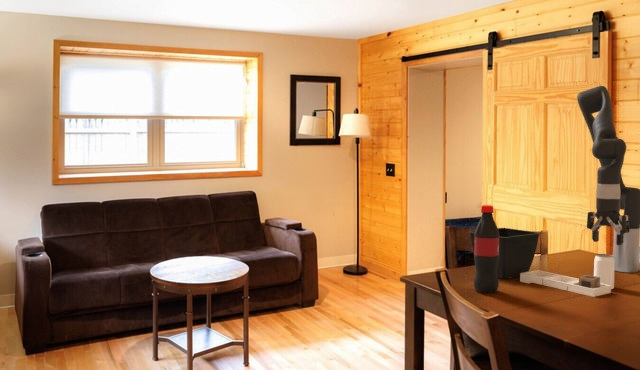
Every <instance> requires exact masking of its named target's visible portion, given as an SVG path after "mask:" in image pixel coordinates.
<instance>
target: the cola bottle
mask: <svg viewBox="0 0 640 370" xmlns="http://www.w3.org/2000/svg"><path fill="white" fill-rule="evenodd" d="M480 213H481V217H480V220H479V221H478V223H477V225H476V228H475V230H474V231H475V233H474V236H475V249H474V252H473V259H474V266H475V275H474V277H473V287H474V290H475V291H477V292H478V293H483V294H493V293H496V292H497V291H498V288H499V285H500V280H499V278H498V276H497V267H498V262H499V236H500V234H499V231H498V228H499V227H498V226H497V223H496V222H495V221H496V220H495V219H494V217H493V214H494V205H492V204H491V205H490V204H485V205H481V208H480Z"/></svg>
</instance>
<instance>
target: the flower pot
mask: <svg viewBox="0 0 640 370" xmlns="http://www.w3.org/2000/svg"><path fill="white" fill-rule="evenodd" d="M497 228H498V231H499V234H500V236H499V262H498V267H497V276H498V279H502V280H508V279H512V278H520V273H523V272H529V271H531V270H530V269H531V266H532V263H533V261H534V258H535V255H536V252H537V247H538V243H539V237H540V232H535V231H530V230H525V229H523V230H522V229H516V228H515V229H514V228H508V227H497ZM474 233H475V230H473V231H471V230H470V231H469V238H470V242H471V248H472V251H473V253H474V249H475V236H474Z"/></svg>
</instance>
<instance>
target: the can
mask: <svg viewBox="0 0 640 370" xmlns="http://www.w3.org/2000/svg"><path fill="white" fill-rule="evenodd" d="M593 266H594V267H593V276H596V277H600V283H601V284H606V285H610V286H611V290H612V289H614V288H615V260H614V258H613V254H607V253H596V254H595V256H594V261H593Z"/></svg>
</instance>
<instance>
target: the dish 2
mask: <svg viewBox="0 0 640 370" xmlns="http://www.w3.org/2000/svg"><path fill="white" fill-rule="evenodd" d="M574 282H579V277H578V278H576V277H572V276H568V275H564V274H559V275H557V276H552V277H547V278H543V285H542V286H545V287H546V286H547V287H549V288H555V289H559V290H562V291H568V284H569V283H574Z"/></svg>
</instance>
